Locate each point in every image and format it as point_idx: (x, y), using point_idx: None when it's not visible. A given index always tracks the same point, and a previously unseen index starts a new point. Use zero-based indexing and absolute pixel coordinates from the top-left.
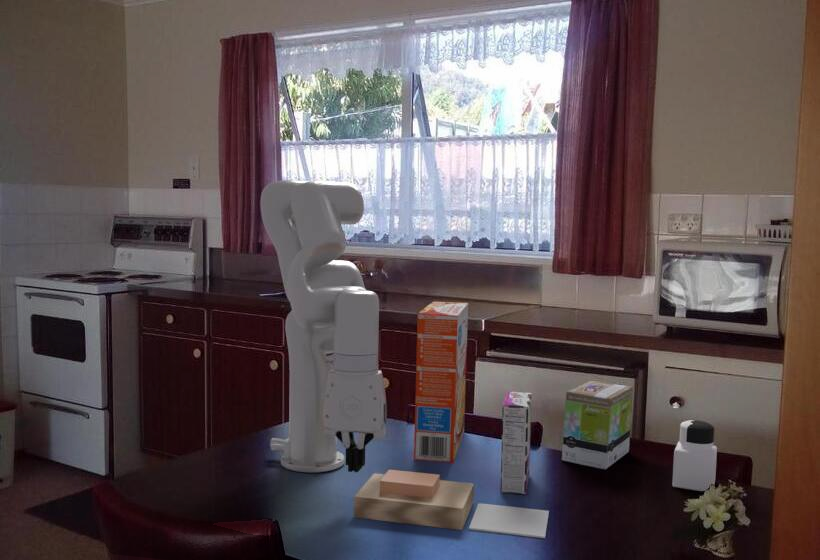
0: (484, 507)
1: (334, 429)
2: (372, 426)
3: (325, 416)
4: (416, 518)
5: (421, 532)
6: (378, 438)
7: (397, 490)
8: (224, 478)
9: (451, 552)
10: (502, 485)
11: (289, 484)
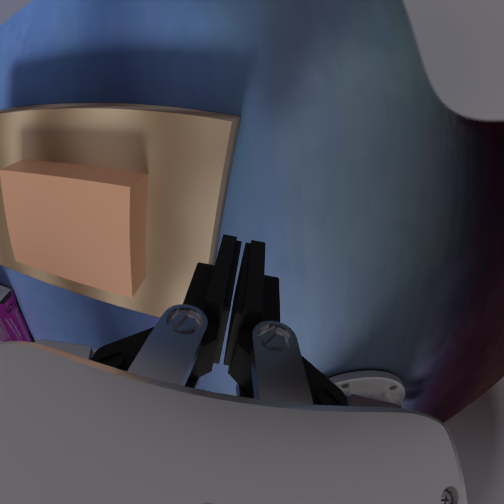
0: None
1: (381, 411)
2: (3, 377)
3: (461, 490)
4: (69, 104)
5: (67, 65)
6: (68, 343)
7: (88, 169)
8: (495, 325)
9: (29, 6)
10: (4, 295)
11: (407, 320)
